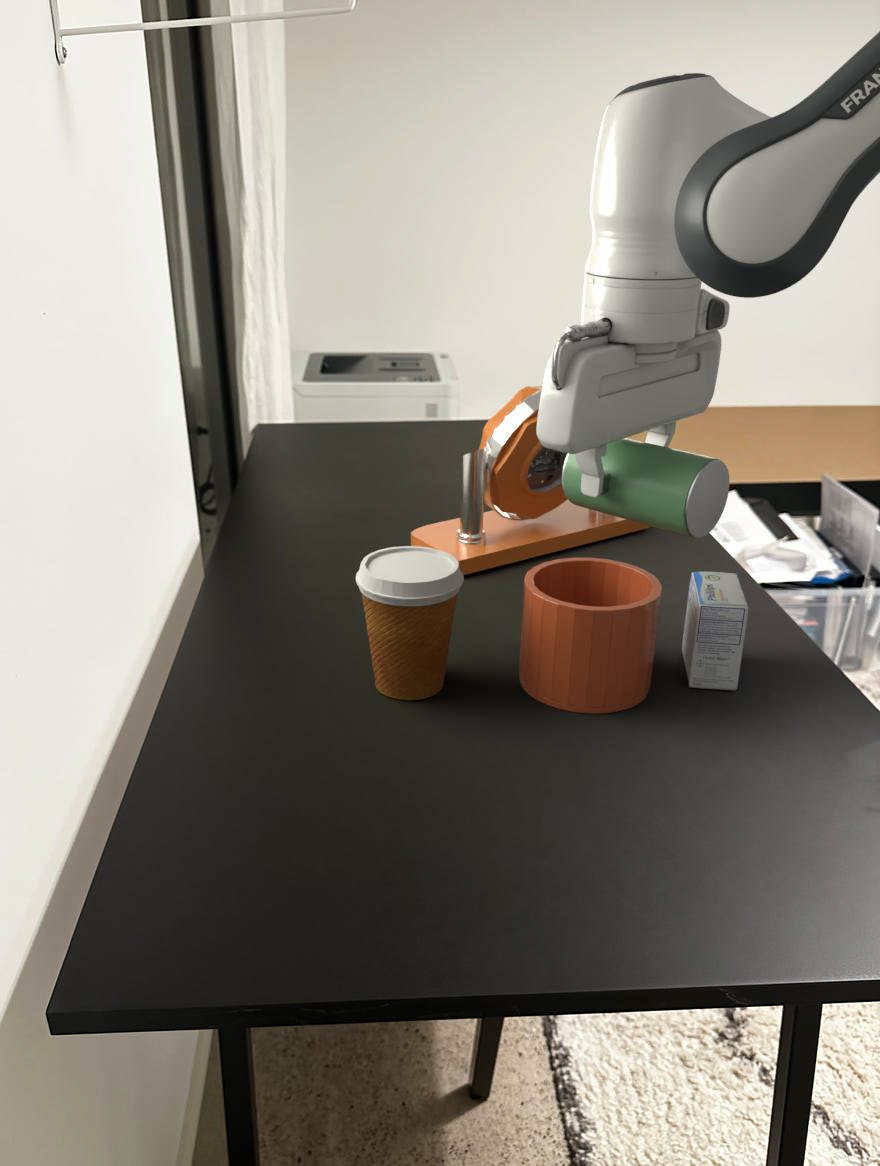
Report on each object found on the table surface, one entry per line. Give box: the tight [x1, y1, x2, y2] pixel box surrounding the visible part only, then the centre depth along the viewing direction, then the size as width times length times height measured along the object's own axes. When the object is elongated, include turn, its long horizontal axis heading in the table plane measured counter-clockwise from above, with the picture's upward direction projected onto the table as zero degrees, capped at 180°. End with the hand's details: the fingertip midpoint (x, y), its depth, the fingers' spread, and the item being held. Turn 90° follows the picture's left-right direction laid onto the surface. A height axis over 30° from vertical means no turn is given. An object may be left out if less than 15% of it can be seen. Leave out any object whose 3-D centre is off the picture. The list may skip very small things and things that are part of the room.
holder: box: [518, 557, 663, 714], centre depth 95 cm, size 12×12×10 cm
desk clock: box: [410, 385, 651, 576], centre depth 126 cm, size 12×30×20 cm, turn 123°
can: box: [562, 437, 730, 539], centre depth 85 cm, size 12×6×6 cm, turn 45°
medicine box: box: [681, 571, 750, 692], centre depth 97 cm, size 8×4×9 cm, turn 171°
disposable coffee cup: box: [355, 545, 465, 701], centre depth 94 cm, size 10×10×12 cm
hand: (622, 483), depth 87 cm, fingers closed on can, 6 cm apart
